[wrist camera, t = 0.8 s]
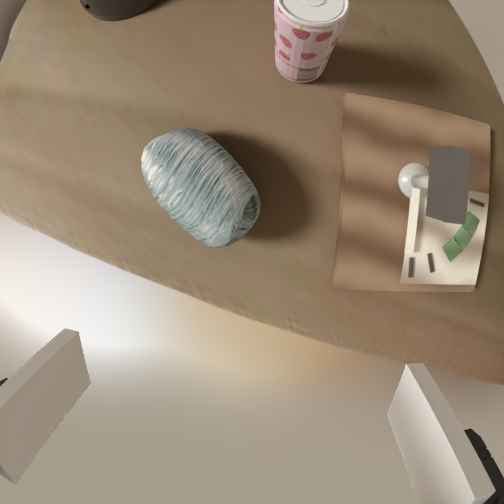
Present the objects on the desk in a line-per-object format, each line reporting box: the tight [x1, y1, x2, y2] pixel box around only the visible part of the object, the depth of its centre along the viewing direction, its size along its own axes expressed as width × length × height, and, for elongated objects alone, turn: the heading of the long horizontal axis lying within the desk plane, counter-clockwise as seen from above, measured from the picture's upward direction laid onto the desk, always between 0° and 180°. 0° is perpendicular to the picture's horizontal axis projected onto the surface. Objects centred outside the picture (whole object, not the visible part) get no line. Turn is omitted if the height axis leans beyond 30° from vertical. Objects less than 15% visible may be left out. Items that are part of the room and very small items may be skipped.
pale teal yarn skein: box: [141, 128, 261, 248], centre depth 31 cm, size 14×10×10 cm
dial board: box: [332, 93, 490, 292], centre depth 32 cm, size 22×20×2 cm
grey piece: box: [397, 146, 470, 254], centre depth 26 cm, size 11×4×10 cm, turn 178°
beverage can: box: [274, 0, 349, 83], centre depth 23 cm, size 6×6×15 cm
